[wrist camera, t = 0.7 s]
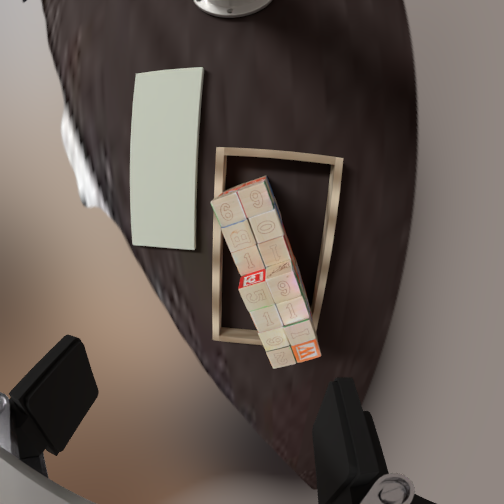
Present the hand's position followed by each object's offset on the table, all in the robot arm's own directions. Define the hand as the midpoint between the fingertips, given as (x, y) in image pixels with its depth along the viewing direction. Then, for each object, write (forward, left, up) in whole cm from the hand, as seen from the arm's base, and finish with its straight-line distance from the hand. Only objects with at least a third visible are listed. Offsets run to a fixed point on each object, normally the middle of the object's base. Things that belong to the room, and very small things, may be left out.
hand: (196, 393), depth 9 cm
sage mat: (-7, -13, -31) cm, 35 cm away
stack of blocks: (+6, +3, -32) cm, 32 cm away
